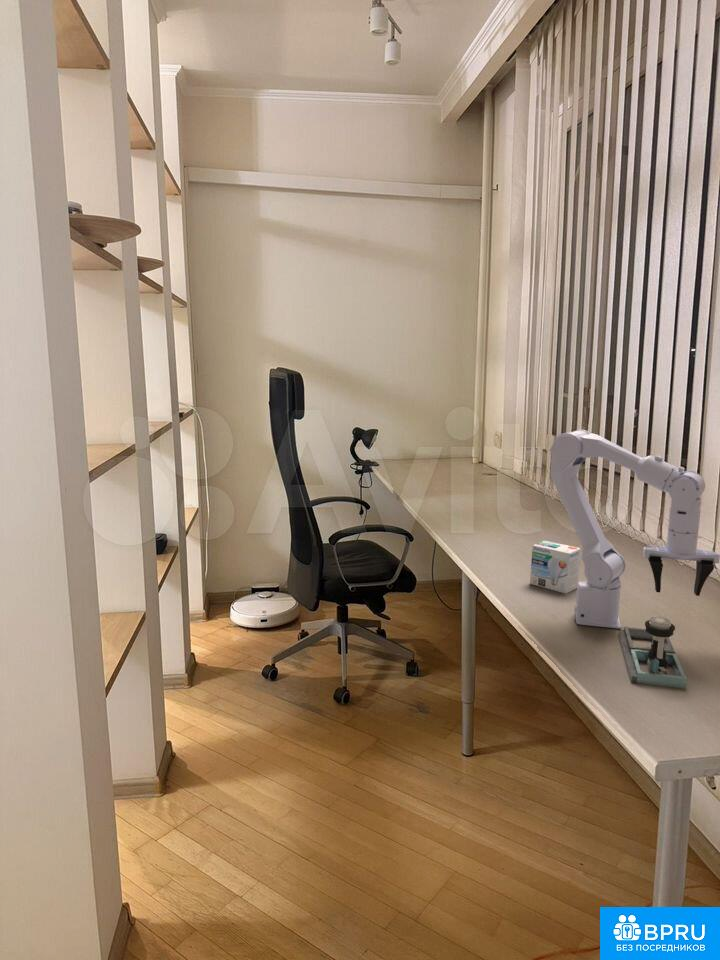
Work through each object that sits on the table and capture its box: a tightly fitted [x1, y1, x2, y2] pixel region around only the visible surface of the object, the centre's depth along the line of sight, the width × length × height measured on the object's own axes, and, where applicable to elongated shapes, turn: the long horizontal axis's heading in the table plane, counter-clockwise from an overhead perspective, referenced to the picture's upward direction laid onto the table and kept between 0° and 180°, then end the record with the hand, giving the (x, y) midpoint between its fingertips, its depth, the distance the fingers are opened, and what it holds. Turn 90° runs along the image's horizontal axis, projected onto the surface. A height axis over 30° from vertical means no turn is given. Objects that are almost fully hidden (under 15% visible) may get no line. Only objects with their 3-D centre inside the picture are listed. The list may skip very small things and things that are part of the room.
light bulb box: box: [529, 540, 582, 595], centre depth 181 cm, size 11×7×11 cm, turn 47°
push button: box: [644, 616, 676, 674], centre depth 134 cm, size 7×5×10 cm
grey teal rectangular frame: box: [618, 626, 688, 690], centre depth 139 cm, size 9×22×2 cm, turn 166°
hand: (677, 592), depth 148 cm, fingers open, 7 cm apart
